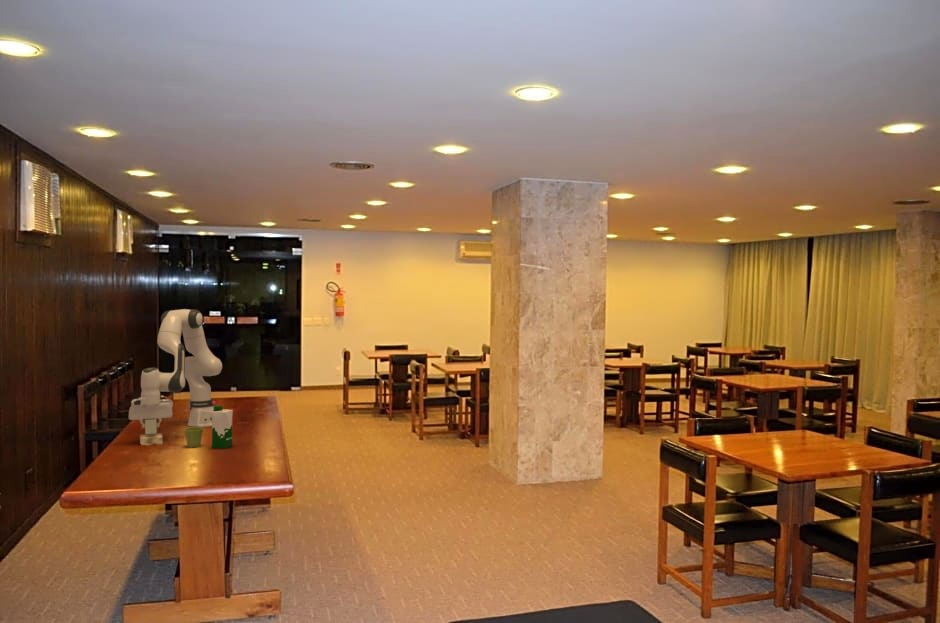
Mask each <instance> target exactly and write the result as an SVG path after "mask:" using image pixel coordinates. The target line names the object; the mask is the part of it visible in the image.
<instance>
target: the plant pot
mask: <svg viewBox="0 0 940 623" xmlns="http://www.w3.org/2000/svg"><path fill="white" fill-rule="evenodd" d="M204 428H205V427H195V426H192V427H187V428H184V429H183V432H184V435H185V440H186V445H187V447H188V448H199V447H200V446H201V444H202V438H203V437H202V435H203V431H204Z"/></svg>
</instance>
